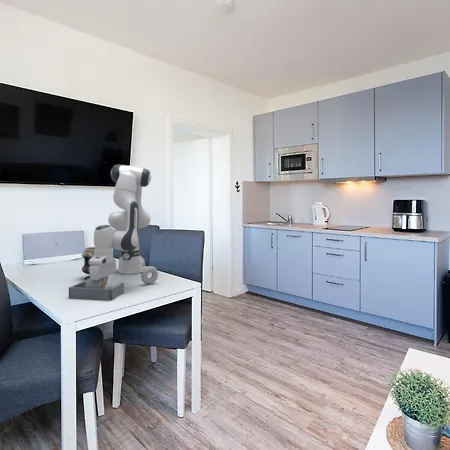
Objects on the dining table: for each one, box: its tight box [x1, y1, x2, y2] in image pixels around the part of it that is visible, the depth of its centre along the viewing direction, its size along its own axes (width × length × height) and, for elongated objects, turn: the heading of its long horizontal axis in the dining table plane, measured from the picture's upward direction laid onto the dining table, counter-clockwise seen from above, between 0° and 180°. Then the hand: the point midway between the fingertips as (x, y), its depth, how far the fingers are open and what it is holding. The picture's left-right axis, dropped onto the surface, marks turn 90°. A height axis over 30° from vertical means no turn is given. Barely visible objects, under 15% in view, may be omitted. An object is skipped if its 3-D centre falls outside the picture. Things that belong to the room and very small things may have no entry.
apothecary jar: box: [81, 246, 95, 281], centre depth 189 cm, size 12×12×18 cm
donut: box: [140, 265, 159, 285], centre depth 178 cm, size 10×4×10 cm, turn 132°
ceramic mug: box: [85, 279, 106, 289], centre depth 159 cm, size 11×8×8 cm
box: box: [68, 280, 125, 301], centre depth 156 cm, size 13×21×5 cm, turn 82°
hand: (104, 285), depth 163 cm, fingers closed
